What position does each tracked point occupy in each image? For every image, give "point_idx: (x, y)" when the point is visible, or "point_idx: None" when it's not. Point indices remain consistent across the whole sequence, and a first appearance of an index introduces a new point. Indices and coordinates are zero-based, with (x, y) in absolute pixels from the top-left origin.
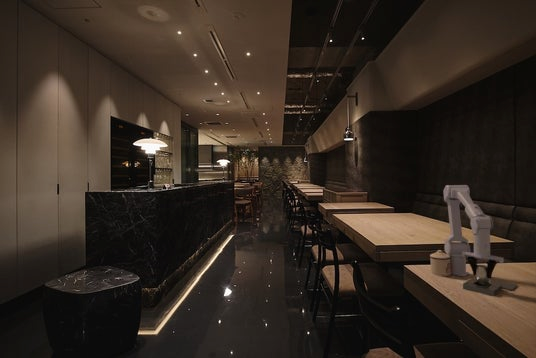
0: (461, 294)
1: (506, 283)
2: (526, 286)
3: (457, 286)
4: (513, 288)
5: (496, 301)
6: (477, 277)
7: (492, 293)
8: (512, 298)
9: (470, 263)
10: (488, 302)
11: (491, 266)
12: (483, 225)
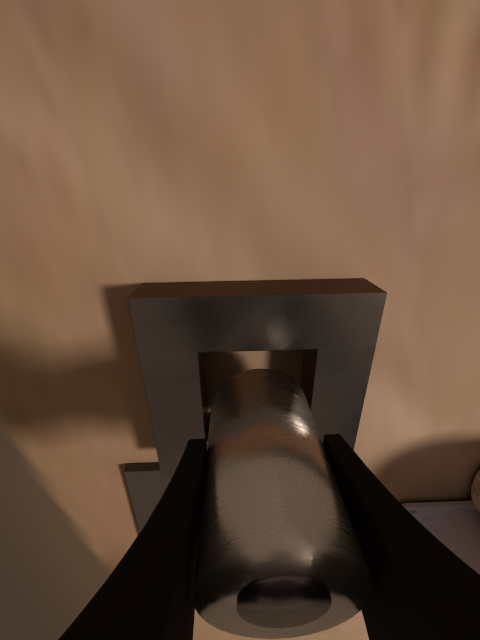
0: (348, 93)
1: None
2: (120, 559)
3: (409, 305)
4: (130, 493)
5: (72, 159)
6: (295, 409)
7: (149, 289)
8: (52, 337)
9: (472, 587)
10: (94, 52)
11: (88, 627)
12: None
